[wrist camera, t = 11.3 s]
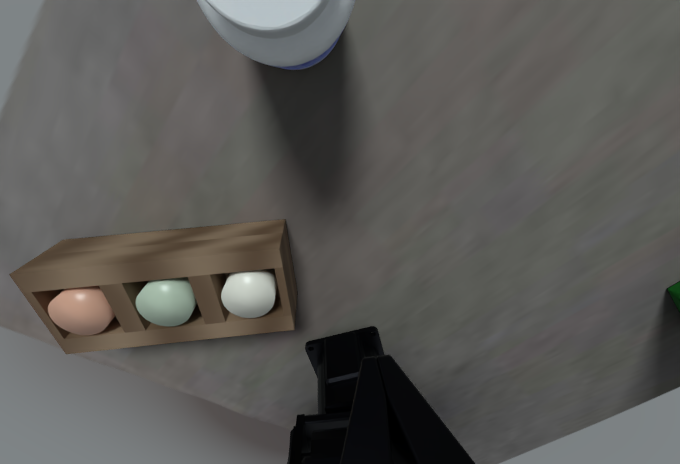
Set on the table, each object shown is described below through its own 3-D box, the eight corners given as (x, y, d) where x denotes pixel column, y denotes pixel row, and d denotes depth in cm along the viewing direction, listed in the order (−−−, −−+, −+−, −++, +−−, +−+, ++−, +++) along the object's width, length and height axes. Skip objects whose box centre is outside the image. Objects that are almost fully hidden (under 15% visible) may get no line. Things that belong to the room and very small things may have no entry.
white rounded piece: (274, 255, 20) (269, 274, 18) (281, 293, 21) (278, 315, 19) (225, 259, 20) (215, 280, 18) (236, 297, 21) (228, 320, 19)
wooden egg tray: (285, 219, 21) (279, 248, 17) (297, 291, 24) (294, 329, 20) (62, 239, 20) (9, 274, 17) (103, 311, 23) (66, 354, 20)
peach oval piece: (115, 270, 19) (93, 292, 17) (135, 308, 21) (116, 332, 19) (65, 275, 19) (36, 297, 17) (87, 313, 21) (64, 337, 19)
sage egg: (195, 262, 19) (182, 283, 18) (209, 300, 21) (198, 323, 19) (145, 267, 19) (126, 288, 17) (162, 305, 21) (147, 329, 19)
